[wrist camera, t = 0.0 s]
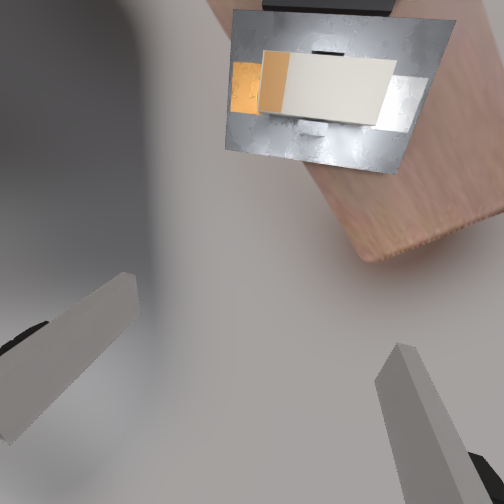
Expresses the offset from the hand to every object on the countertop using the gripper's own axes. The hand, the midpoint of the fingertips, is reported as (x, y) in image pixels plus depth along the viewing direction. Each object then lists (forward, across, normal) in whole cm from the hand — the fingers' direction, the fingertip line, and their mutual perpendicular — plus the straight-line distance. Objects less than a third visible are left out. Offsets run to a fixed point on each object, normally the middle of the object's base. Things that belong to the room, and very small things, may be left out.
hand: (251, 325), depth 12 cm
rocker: (+21, +1, +13) cm, 25 cm away
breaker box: (+28, +1, +13) cm, 31 cm away
